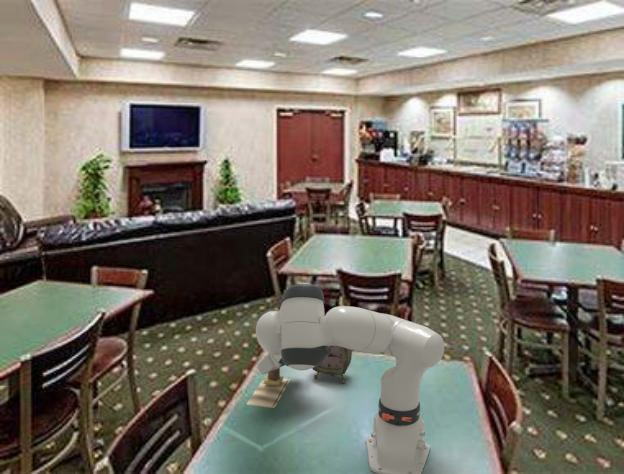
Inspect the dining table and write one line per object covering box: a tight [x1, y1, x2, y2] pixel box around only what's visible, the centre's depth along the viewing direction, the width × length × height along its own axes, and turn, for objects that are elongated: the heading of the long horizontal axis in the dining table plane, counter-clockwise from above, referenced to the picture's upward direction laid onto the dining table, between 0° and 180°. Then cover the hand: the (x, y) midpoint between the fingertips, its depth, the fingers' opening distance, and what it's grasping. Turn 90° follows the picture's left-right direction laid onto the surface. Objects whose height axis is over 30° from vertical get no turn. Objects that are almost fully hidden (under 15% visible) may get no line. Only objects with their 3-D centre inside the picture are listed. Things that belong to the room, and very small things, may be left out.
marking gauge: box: [264, 368, 284, 386], centre depth 189 cm, size 6×6×9 cm
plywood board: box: [245, 375, 292, 409], centre depth 185 cm, size 22×10×2 cm, turn 168°
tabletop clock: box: [311, 346, 353, 384], centre depth 197 cm, size 14×9×25 cm, turn 73°
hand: (272, 368), depth 190 cm, fingers closed on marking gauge, 3 cm apart
